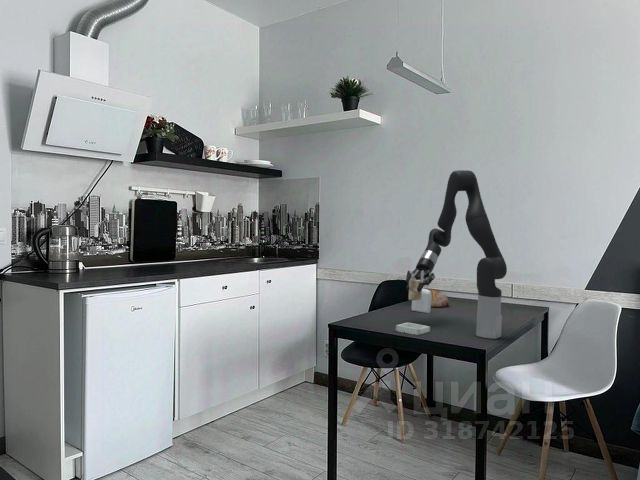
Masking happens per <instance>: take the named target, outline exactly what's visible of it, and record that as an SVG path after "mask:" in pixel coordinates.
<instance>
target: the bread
mask: <svg viewBox="0 0 640 480" xmlns="http://www.w3.org/2000/svg"><path fill="white" fill-rule="evenodd" d="M428 290H429V291H431V308H441V309H442V308H443V307H445V308H447V307H449V304H450V302H449V299H448V298H449V297H448V296H447V295H446V294H445V293H443V292H441V290H439V289H436V290H433V289H428ZM443 309H444V308H443Z"/></svg>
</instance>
